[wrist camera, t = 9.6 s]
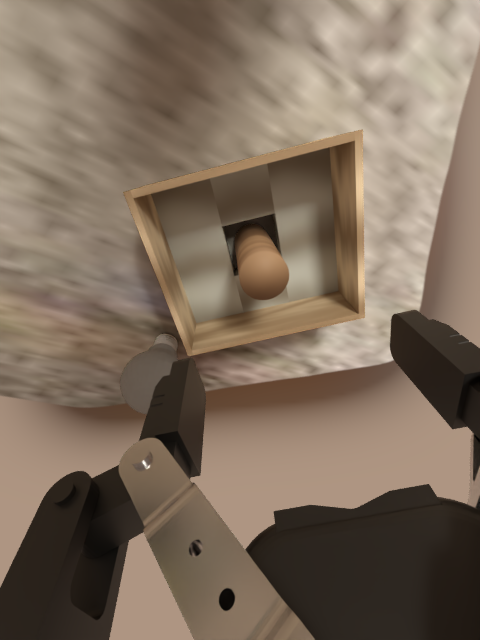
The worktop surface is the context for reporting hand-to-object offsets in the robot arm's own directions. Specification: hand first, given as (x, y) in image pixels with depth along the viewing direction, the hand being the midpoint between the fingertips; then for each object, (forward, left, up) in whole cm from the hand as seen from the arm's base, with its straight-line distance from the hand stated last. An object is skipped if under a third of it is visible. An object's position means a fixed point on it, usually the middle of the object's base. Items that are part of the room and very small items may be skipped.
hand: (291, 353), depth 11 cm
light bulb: (+9, -12, -19) cm, 24 cm away
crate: (0, 0, -19) cm, 19 cm away
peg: (0, 0, -19) cm, 19 cm away
